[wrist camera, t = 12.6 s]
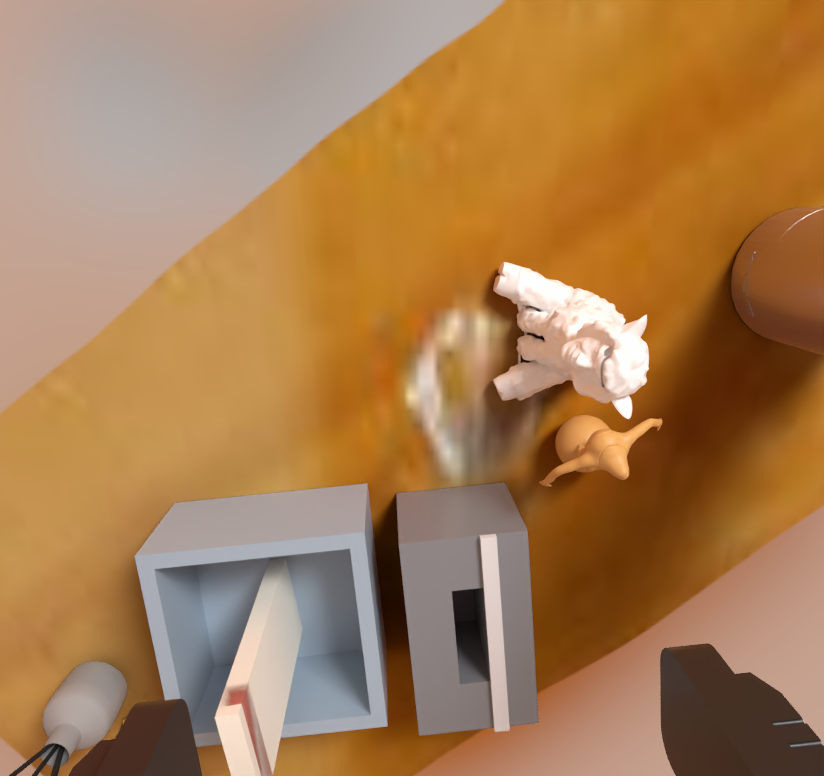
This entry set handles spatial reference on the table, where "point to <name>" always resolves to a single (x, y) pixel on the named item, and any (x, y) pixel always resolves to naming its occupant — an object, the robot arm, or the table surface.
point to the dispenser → (468, 608)
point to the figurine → (595, 447)
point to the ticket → (261, 677)
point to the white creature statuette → (571, 341)
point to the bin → (236, 593)
